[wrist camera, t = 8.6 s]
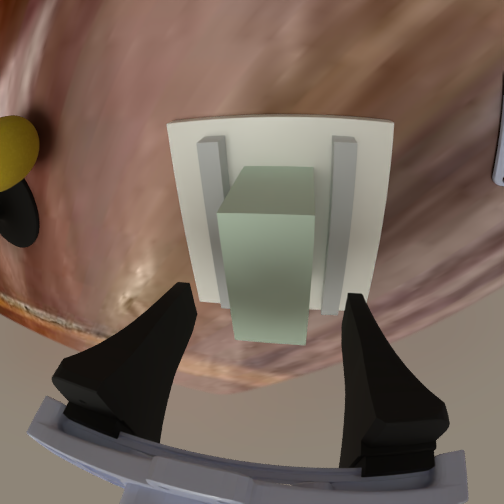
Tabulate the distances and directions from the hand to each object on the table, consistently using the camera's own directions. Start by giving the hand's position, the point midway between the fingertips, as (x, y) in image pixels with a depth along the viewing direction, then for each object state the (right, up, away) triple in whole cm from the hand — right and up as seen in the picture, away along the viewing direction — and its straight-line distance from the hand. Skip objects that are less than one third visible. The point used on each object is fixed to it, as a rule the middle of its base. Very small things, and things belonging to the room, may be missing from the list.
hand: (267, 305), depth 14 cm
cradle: (+1, +4, +7) cm, 8 cm away
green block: (+1, +4, +6) cm, 7 cm away
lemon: (-18, +12, +6) cm, 23 cm away
